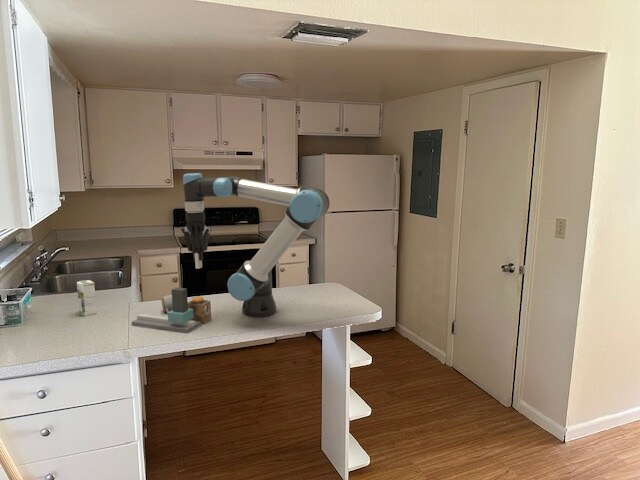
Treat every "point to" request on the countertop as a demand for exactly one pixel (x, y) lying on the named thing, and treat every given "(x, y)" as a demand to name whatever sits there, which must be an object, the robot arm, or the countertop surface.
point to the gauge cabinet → (200, 311)
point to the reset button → (197, 299)
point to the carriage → (180, 307)
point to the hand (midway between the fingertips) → (198, 267)
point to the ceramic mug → (167, 303)
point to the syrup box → (86, 297)
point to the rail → (164, 323)
